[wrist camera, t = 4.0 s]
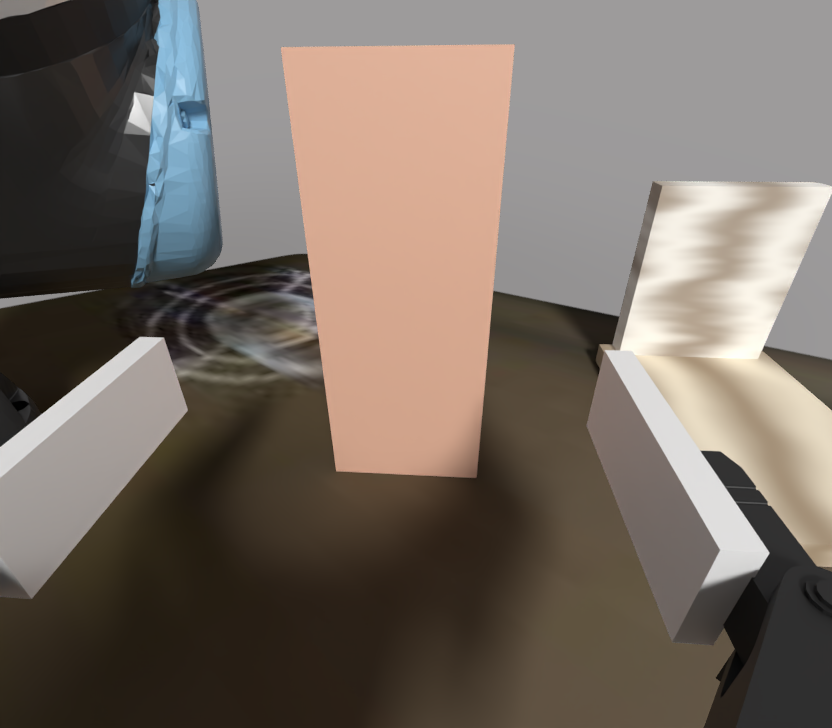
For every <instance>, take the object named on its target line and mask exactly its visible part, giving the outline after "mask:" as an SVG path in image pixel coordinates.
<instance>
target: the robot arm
mask: <svg viewBox="0 0 832 728" xmlns="http://www.w3.org/2000/svg"><path fill="white" fill-rule="evenodd" d="M221 249H222V229H221V217H220V207H219V197H218V187H217V177H216V167H215V157H214V147H213V137H212V128H211V120H210V108H209V98H208V88H207V79H206V70H205V60H204V50H203V43H202V35H201V25H200V14H199V7H198V3H197V1H196V0H0V298H11V297H23V296H34V295H45V294H56V293H67V292H77V291H89V290H100V289H111V288H122V287H132V288H136V287H142V286H143V285H145V283H148V282H154V281H160V280H167V279H173V278H179V277H185V276H191V275H196V274H199V273H201V272H203V271H205V269H207V268H209V267H210V266H212V265H213V264H214V263H215V262H216V260H217V258H218V257H219V255H220V253H221ZM187 411H188V409H187V406H186V403H185V400H184V397H183V394H182V391H181V388H180V385H179V382H178V379H177V376H176V373H175V370H174V367H173V364H172V361H171V358H170V355H169V352H168V349H167V346H166V343H165V340H164V338H160V337H139V338H138V339H137V340H135V341H134V342H133V343H131V344H130V345H129V346H128V347H126V348H125V349H124V350H123V351H121V352H120V353H119V354H118V355H116V356H115V357H114V358H112V359H111V360H110V361H109V362H107V363H106V364H105V365H104V366H102V367H101V368H100V369H99V370H97V371H96V372H95V373H93V374H92V375H91V376H90V377H88V378H87V379H86V380H85V381H83V382H82V383H81V384H80V385H78V386H77V387H76V388H74V389H73V390H72V391H71V392H69V393H68V394H67V395H66V396H64V397H63V398H62V399H61V400H59V401H58V402H57V403H55V404H54V405H53V406H52V407H50V408H49V409H48V410H47V411H45V412H44V413H43V414H42V415H41V413H40V411H39V409H38V407H37V405H36V404H35V403H34V401H33V400H32V399H31V398H30V397H29V396H28V395H27V394H26V393H25V392H24V391H22V390H21V389H19V388H18V387H17V386H16V385H15V384H14V383H13V382H11V381H10V380H9V379H8V378H7V377H5V376H4V375H3V374H2V373H0V597H10V598H25V599H32V598H33V597H34V595H35V594H36V593H37V592H38V591H39V589H40V588H41V587H42V586H43V585H44V583H45V582H46V581H47V580H48V579H49V577H50V576H51V575H52V574H53V573H54V571H55V570H56V569H57V568H58V566H59V565H60V564H61V563H62V562H63V560H64V559H65V558H66V557H67V556H68V554H69V553H70V552H71V551H72V550H73V548H74V547H75V546H76V545H77V544H78V542H79V541H80V540H81V539H82V537H83V536H84V535H85V534H86V533H87V531H88V530H89V529H90V528H91V527H92V525H93V524H94V523H95V522H96V521H97V519H98V518H99V517H100V516H101V515H102V513H103V512H104V511H105V510H106V509H107V507H108V506H109V505H110V504H111V502H112V501H113V500H114V499H115V498H116V496H117V495H118V494H119V493H120V492H121V490H122V489H123V488H124V487H125V486H126V484H127V483H128V482H129V481H130V480H131V478H132V477H133V476H134V475H135V473H136V472H137V471H138V470H139V469H140V467H141V466H142V465H143V464H144V463H145V461H146V460H147V459H148V458H149V457H150V455H151V454H152V453H153V452H154V451H155V449H156V448H157V447H158V446H159V445H160V443H161V442H162V441H163V440H164V438H165V437H166V436H167V435H168V434H169V432H170V431H171V430H172V429H173V428H174V426H175V425H176V424H177V423H178V422H179V420H180V419H181V418H182V417H183V416H184V414H185V413H186V412H187ZM587 428H588V430H589V433H590V436H591V438H592V441H593V443H594V446H595V448H596V451H597V453H598V456H599V458H600V461H601V463H602V466H603V468H604V471H605V474H606V476H607V479H608V481H609V484H610V486H611V489H612V491H613V494H614V496H615V499H616V501H617V504H618V506H619V509H620V512H621V514H622V517H623V519H624V522H625V524H626V527H627V529H628V532H629V534H630V537H631V539H632V542H633V544H634V547H635V550H636V552H637V555H638V557H639V560H640V562H641V565H642V567H643V570H644V572H645V575H646V577H647V580H648V582H649V585H650V588H651V590H652V593H653V595H654V598H655V600H656V603H657V605H658V608H659V610H660V613H661V615H662V618H663V620H664V623H665V626H666V628H667V631H668V633H669V636H670V638H671V641H672V642H675V643H689V644H704V645H714V643H715V641H716V640H717V638H718V637H719V635H720V633H721V632H722V630H723V628H725V630H726V632H727V634H728V636H729V638H730V640H731V642H732V644H733V646H734V648H735V650H734V651H733V653H732V654H731V656H730V657H729V659H728V660H727V662H726V663H725V665H724V666H723V668H722V669H721V671H720V672H719V674H718V675H717V677H716V679H718V680H719V681H721V682H720V685H719V687H718V690H717V693H716V696H715V698H714V701H713V704H712V707H711V709H710V712H709V715H708V718H707V720H706V723H705V726H704V728H832V572H830V571H828V570H825V569H823V568H820V567H817V566H816V564H815V563H814V562H813V560H812V559H811V558H810V557H809V555H808V554H807V553H806V551H805V550H804V549H803V547H802V546H801V545H800V543H799V542H798V541H797V539H796V538H795V537H794V535H793V534H792V533H791V532H790V530H789V529H788V528H787V526H786V525H785V524H784V522H783V521H782V520H781V518H780V517H779V516H778V514H777V513H776V512H775V511H774V509H773V508H772V507H771V506H768V501H767V500H766V499H765V497H764V496H763V495H762V493H761V492H760V491H759V490H756V486H755V484H754V483H753V482H752V480H751V479H750V478H749V476H748V475H747V474H746V472H745V471H744V470H743V468H742V467H740V466H739V465H738V464H736V463H735V462H734V461H732V460H731V459H730V458H728V457H727V456H726V455H725V454H723V453H722V452H721V451H700V450H699V448H698V447H697V445H696V444H695V442H694V441H693V440H692V438H691V437H690V435H689V434H688V432H687V431H686V429H685V428H684V426H683V425H682V423H681V422H680V420H679V419H678V418H677V416H676V415H675V413H674V412H673V410H672V409H671V407H670V406H669V404H668V403H667V401H666V400H665V398H664V397H663V396H662V394H661V393H660V391H659V390H658V388H657V387H656V385H655V384H654V382H653V381H652V379H651V378H650V376H649V375H648V373H647V372H646V371H645V369H644V368H643V366H642V365H641V363H640V362H639V360H638V359H637V357H636V356H635V354H634V353H633V351H619V350H605V351H604V355H603V359H602V363H601V367H600V372H599V376H598V380H597V384H596V389H595V393H594V397H593V401H592V405H591V410H590V414H589V418H588V422H587Z"/></svg>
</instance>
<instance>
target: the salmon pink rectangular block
mask: <svg viewBox="0 0 832 728" xmlns="http://www.w3.org/2000/svg"><path fill="white" fill-rule="evenodd" d="M281 52H282V59H283V68H284V75H285V83H286V90H287V98H288V105H289V114H290V121H291V128H292V136H293V143H294V152H295V160H296V167H297V175H298V183H299V190H300V197H301V205H302V213H303V220H304V228H305V236H306V244H307V251H308V259H309V267H310V274H311V282H312V290H313V297H314V305H315V313H316V320H317V328H318V336H319V343H320V351H321V359H322V366H323V374H324V381H325V389H326V397H327V404H328V412H329V420H330V427H331V435H332V443H333V450H334V458H335V466H336V471H343V472H364V473H384V474H404V475H425V476H445V477H465V478H477V468H478V456H479V445H480V433H481V422H482V411H483V399H484V388H485V377H486V365H487V354H488V342H489V331H490V320H491V308H492V297H493V285H494V274H495V263H496V251H497V240H498V228H499V216H500V205H501V194H502V181H503V171H504V160H505V149H506V148H505V147H506V138H507V126H508V115H509V103H510V92H511V81H512V69H513V57H514V45H430V46H429V45H428V46H351V47H349V46H347V47H346V46H344V47H281Z"/></svg>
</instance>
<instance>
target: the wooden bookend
mask: <svg viewBox="0 0 832 728" xmlns="http://www.w3.org/2000/svg"><path fill="white" fill-rule="evenodd" d="M831 194H832V186H828V185H825V184H821V183H817V182H683V181H680V182H679V181H675V182H674V181H653V183H652V187H651V191H650V195H649V199H648V203H647V208H646V211H645V215H644V219H643V224H642V228H641V232H640V236H639V240H638V244H637V248H636V252H635V256H634V260H633V264H632V268H631V272H630V276H629V280H628V284H627V288H626V292H625V296H624V300H623V304H622V308H621V313H620V316H619V320H618V324H617V328H616V332H615V336H614V340H613V344H612V345H611V344H599V348H598V352H597V356H596V362H597V364H598V366H599V368H600V367H601V363H602V359H603V355H604V351H605V350H619V351H633V353H634V354H635V356H636V357H637V359H638V360H639V362H640V363H641V365H642V366H643V368H644V369H645V371H646V372H647V373H648V375H649V376H650V378H651V379H652V381H653V382H654V384H655V385H656V387H657V388H658V390H659V391H660V393H661V394H662V396H663V397H664V398H665V400H666V401H667V403H668V404H669V406H670V407H671V409H672V410H673V412H674V413H675V415H676V416H677V418H678V419H679V420H680V422H681V423H682V425H683V426H684V428H685V429H686V431H687V432H688V434H689V435H690V437H691V438H692V440H693V441H694V442H695V444H696V445H697V447H698V448H699V450H700V451H721V452H722V453H723V454H725V455H726V456H727V457H728V458H730V459H731V460H732V461H734V462H735V463H736V464H738V465H739V466H740V467H742V468H743V470H744V471H745V472H746V474H747V475H748V476H749V478H750V479H751V480H752V482H753V483H754V484H755V486H756V490H759V491H760V492H761V493H762V495H763V496H764V497H765V499H766V500H767V501H768V506H771V507H772V508H773V509H774V511H775V512H776V513H777V514H778V516H779V517H780V518H781V520H782V521H783V522H784V524H785V525H786V526H787V528H788V529H789V530H790V532H791V533H792V534H793V535H794V537H795V538H796V539H797V541H798V542H799V543H800V545H801V546H802V547H803V549H804V550H805V551H806V553H807V554H808V555H809V557H810V558H811V559H812V560H813V562H814V563H815V564H816V566H823V567H832V410H830V409H829V408H828V407H827V406H826V405H825V404H823V403H822V402H821V401H820V400H819V399H818V398H816V397H815V396H814V395H813V394H812V393H811V392H809V391H808V390H807V389H806V388H805V387H804V386H802V385H801V384H800V383H799V382H798V381H797V380H795V379H794V378H793V377H792V376H791V375H790V374H788V373H787V372H786V371H785V370H784V369H783V368H781V367H780V366H779V365H778V364H777V363H776V362H774V361H773V360H772V359H771V358H770V357H769V356H768V355H766V354H765V353H764V352H763V351H762V349H763V347H764V344H765V342H766V340H767V337H768V335H769V333H770V331H771V329H772V326H773V324H774V322H775V319H776V317H777V315H778V313H779V311H780V308H781V306H782V304H783V301H784V299H785V297H786V295H787V293H788V290H789V288H790V286H791V283H792V281H793V279H794V277H795V274H796V272H797V270H798V268H799V266H800V263H801V261H802V259H803V257H804V254H805V252H806V250H807V248H808V245H809V243H810V241H811V239H812V236H813V234H814V232H815V230H816V227H817V225H818V223H819V221H820V219H821V216H822V214H823V212H824V210H825V207H826V205H827V203H828V200H829V198H830V196H831Z"/></svg>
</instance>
